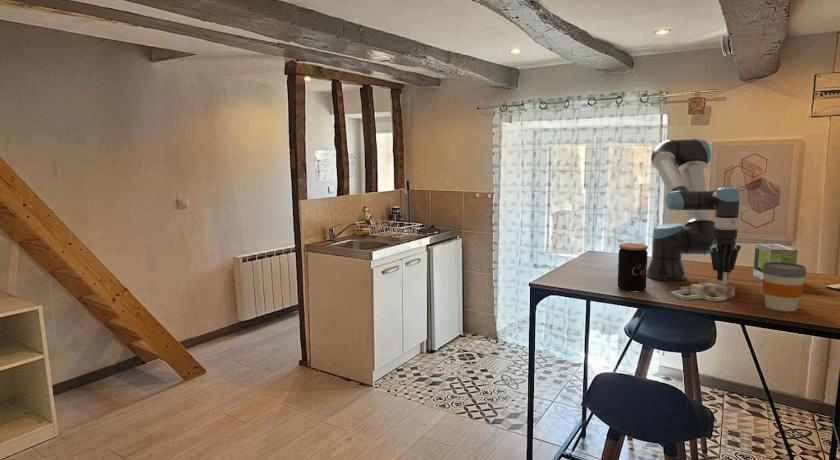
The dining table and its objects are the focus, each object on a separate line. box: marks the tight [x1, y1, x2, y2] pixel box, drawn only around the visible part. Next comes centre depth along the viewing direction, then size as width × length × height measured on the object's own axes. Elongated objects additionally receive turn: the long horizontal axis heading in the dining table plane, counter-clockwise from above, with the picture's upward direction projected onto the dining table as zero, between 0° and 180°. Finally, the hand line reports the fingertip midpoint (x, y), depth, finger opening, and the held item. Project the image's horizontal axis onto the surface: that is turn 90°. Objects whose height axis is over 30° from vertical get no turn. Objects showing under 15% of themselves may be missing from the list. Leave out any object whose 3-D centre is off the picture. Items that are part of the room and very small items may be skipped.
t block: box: [689, 279, 736, 299], centre depth 196 cm, size 12×13×4 cm
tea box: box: [752, 243, 798, 281], centre depth 214 cm, size 15×10×15 cm, turn 168°
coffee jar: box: [617, 242, 649, 292], centre depth 205 cm, size 11×11×18 cm
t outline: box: [669, 285, 727, 303], centre depth 195 cm, size 14×17×1 cm
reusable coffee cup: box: [761, 262, 807, 312], centre depth 177 cm, size 13×13×15 cm
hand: (722, 288), depth 197 cm, fingers closed
